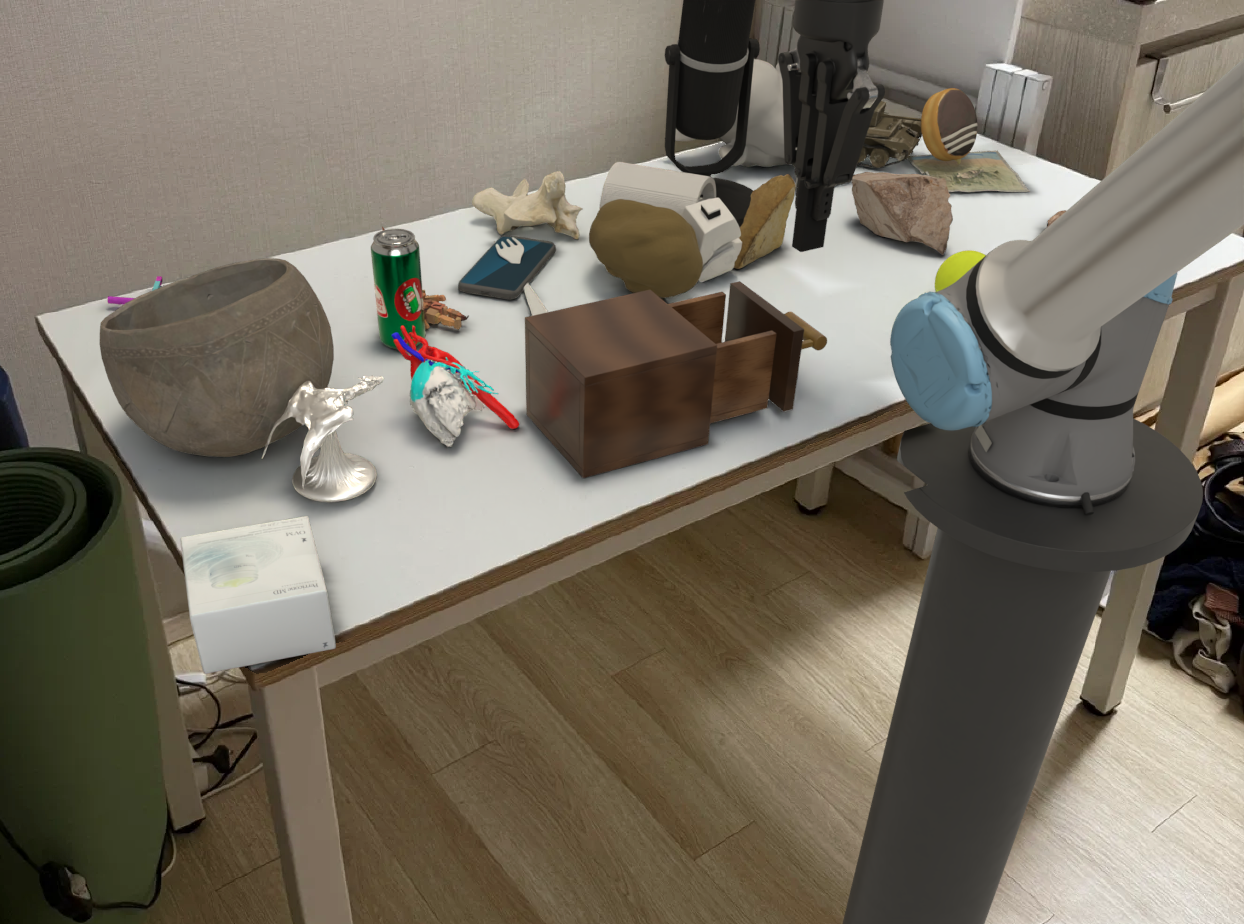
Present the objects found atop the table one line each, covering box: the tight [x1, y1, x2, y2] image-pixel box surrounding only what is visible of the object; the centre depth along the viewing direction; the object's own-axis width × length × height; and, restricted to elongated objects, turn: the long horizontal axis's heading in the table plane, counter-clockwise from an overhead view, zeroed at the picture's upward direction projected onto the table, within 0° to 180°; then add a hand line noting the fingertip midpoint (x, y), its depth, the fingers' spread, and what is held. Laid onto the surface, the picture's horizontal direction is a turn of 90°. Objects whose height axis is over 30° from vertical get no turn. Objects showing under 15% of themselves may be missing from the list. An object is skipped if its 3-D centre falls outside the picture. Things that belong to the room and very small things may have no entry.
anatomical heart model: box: [392, 326, 520, 448], centre depth 124 cm, size 13×8×15 cm
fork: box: [493, 237, 549, 316], centre depth 151 cm, size 3×24×2 cm, turn 14°
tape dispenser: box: [682, 198, 742, 283], centre depth 150 cm, size 6×7×10 cm
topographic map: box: [907, 149, 1031, 193], centre depth 178 cm, size 14×14×2 cm
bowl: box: [99, 257, 335, 458], centre depth 120 cm, size 21×21×15 cm
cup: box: [599, 161, 716, 216], centre depth 157 cm, size 9×9×12 cm
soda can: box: [370, 228, 427, 350], centre depth 136 cm, size 5×5×12 cm
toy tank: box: [856, 100, 923, 169], centre depth 181 cm, size 10×23×10 cm, turn 65°
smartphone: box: [457, 234, 557, 300], centre depth 153 cm, size 8×15×1 cm, turn 161°
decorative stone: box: [588, 199, 703, 299], centre depth 147 cm, size 17×11×10 cm
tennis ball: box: [934, 249, 987, 292], centre depth 145 cm, size 7×7×7 cm
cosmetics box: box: [179, 515, 337, 675], centre depth 102 cm, size 10×6×10 cm
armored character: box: [381, 226, 470, 331], centre depth 140 cm, size 12×6×10 cm
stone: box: [851, 171, 954, 256], centre depth 162 cm, size 15×9×10 cm
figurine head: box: [675, 58, 798, 187], centre depth 175 cm, size 18×14×25 cm
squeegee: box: [107, 275, 163, 306], centre depth 144 cm, size 15×1×5 cm
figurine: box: [261, 375, 385, 503], centre depth 116 cm, size 8×12×10 cm, turn 134°
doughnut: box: [920, 87, 978, 164], centre depth 176 cm, size 9×4×10 cm, turn 127°
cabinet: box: [524, 290, 717, 479], centre depth 123 cm, size 14×13×11 cm
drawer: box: [667, 280, 828, 424], centre depth 128 cm, size 18×12×9 cm, turn 116°
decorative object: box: [471, 170, 584, 241], centre depth 160 cm, size 13×13×10 cm
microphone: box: [664, 0, 761, 227], centre depth 159 cm, size 16×16×30 cm
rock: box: [733, 173, 797, 270], centre depth 156 cm, size 11×9×10 cm
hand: (807, 246), depth 124 cm, fingers closed
